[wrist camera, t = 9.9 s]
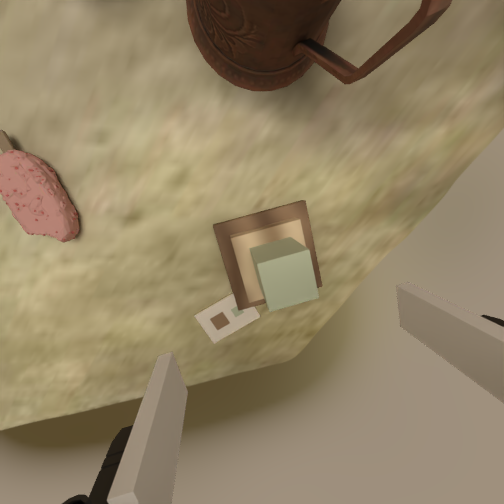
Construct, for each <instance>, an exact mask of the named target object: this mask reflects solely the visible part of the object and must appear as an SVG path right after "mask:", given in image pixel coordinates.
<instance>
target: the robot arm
mask: <svg viewBox="0 0 504 504" xmlns="http://www.w3.org/2000/svg"><path fill="white" fill-rule="evenodd" d="M396 289H397V299H398V309H399V318H400V327H402V328H403V329H404V330H406V331H407V332H408V333H410V334H411V335H413V336H414V337H415V338H416V339H418V340H419V341H421V342H422V343H423V344H424V345H426V346H427V347H429V348H430V349H432V350H433V351H434V352H435V353H437V354H438V355H439V356H441V357H442V358H443V359H445V360H446V361H447V362H449V363H450V364H452V365H453V366H454V367H456V368H457V369H458V370H460V371H461V372H463V373H464V374H465V375H466V376H468V377H469V378H471V379H472V380H473V381H474V382H476V383H477V384H478V385H480V386H481V387H483V388H484V389H485V390H487V391H488V392H489V393H491V394H492V395H493V396H495V397H496V398H497V399H499V400H500V401H501V402H503V403H504V321H503V320H501V319H498V318H494V317H490V316H487V315H482V316H479V315H477V314H475V313H473V312H471V311H469V310H466V309H464V308H462V307H460V306H458V305H456V304H454V303H452V302H450V301H448V300H445V299H443V298H441V297H439V296H437V295H435V294H433V293H431V292H429V291H426V290H424V289H422V288H420V287H418V286H416V285H414V284H412V283H410V282H406V283H403V284H400V285H396ZM187 394H188V391H187V389H186V386H185V383H184V381H183V378H182V376H181V373H180V370H179V368H178V365H177V362H176V360H175V357H174V355H173V352H169V353H166V354H163V355H159V356H158V358H157V361H156V364H155V367H154V369H153V372H152V375H151V378H150V381H149V383H148V386H147V389H146V392H145V395H144V397H143V400H142V403H141V406H140V409H139V411H138V414H137V417H136V420H135V422H134V425H132V426H129V427H125V428H122V429H121V430H120V432H119V433H118V435H117V436H116V437H115V439H114V440H113V441H112V443H111V446H110V448H109V450H108V453H107V455H106V458H105V460H104V462H103V465H102V467H101V471H100V472H99V474H98V477H97V479H96V481H95V484H94V486H93V488H92V491H91V493H90V495H89V498H88V497H87V496H86V495H76V496H74V497H72V498H70V499H68V500H67V501H65V502H64V503H63V504H171V503H172V496H173V489H174V482H175V476H176V468H177V462H178V455H179V448H180V442H181V435H182V428H183V421H184V414H185V408H186V401H187Z"/></svg>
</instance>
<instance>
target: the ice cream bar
mask: <svg viewBox="0 0 504 504" xmlns="http://www.w3.org/2000/svg"><path fill="white" fill-rule="evenodd" d="M0 148H1V150H2V151H3V154H1V155H0V193H1V194H2V196H3V200H4V201H6V204H7V205H8V206H9V208H10V209H11V211H12V215H13V216H14V218H15V219H16V220H17V221H18V222H19V223H20V225H21V226H22V228H23V229H24V231H25V232H27V234H31V235H33V234H36V235H39V234H41V235H43V236H45V234H47V235H49V236H51V237H55V238H57V239H58V240H59V241H61V242H66V241H70V240H71V239H74V238H75V236H76V234H78V232H79V223H78V213H77V212H76V210H75V208H74V205H72V204H71V202H70V200H69V199H68V197H67V196H68V195H67V193H66V192H65V190H63V188H62V186H61V184H60V183H59V181H58V179H57V176H56V174H55V171H54V170H53V169H52V168H51V167H48V166H47V165H46V164H45V163H44V162H43V160H41V159H40V158H37V157H36V156H34V155H32V154H28V153H25V152H24V151H18V150H15V148H14V146H13V145H12V143H11V141H10V139H9V138H8V136H7V134H6V132H5V131H3V130H0Z"/></svg>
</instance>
